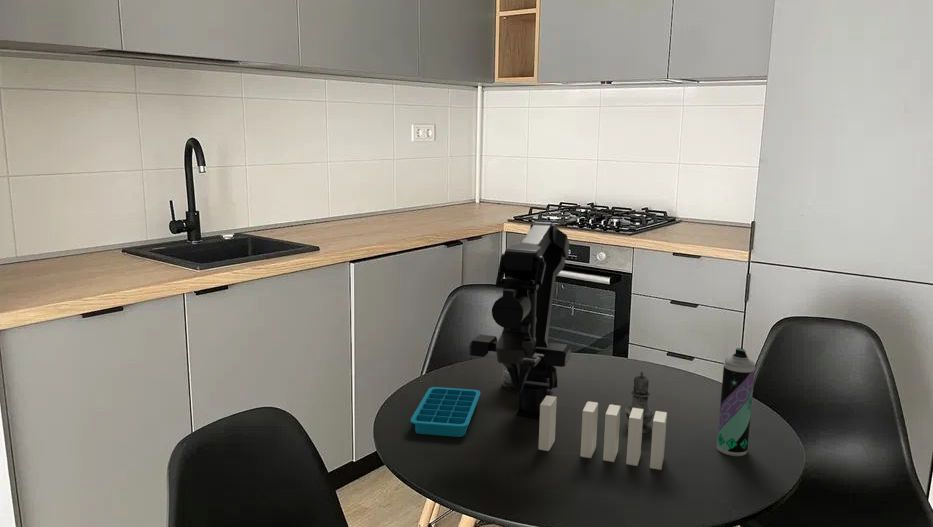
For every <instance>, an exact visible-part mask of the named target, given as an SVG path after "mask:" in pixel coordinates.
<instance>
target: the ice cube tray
mask: <svg viewBox="0 0 933 527" xmlns="http://www.w3.org/2000/svg"><path fill="white" fill-rule="evenodd" d="M480 396H481V391H480V390H479V389H469V388H467V389H466V388H455V387H454V388H453V387H441V386H432V387H429V388H428V389H427V391H426V392H425V395H424V396H423V398H422V399H421V401H420V403H419V404H418V406H417V408H416V410H415V411H414V413H413V414H412V416H411V418H410V420H409V421H410V423H411V424H414V430H415V431H414V432H415V433H416V434H421V435H431V436H444V437H455V438H457V437H459V438H460V437H464V436H465V435H466V433H467V429H468V428H469V425H470V423H471V420H472V418H471V417H473V414H474V413H475V412H474V411H475V410H476V406H477V404H478V401H479V398H480Z"/></svg>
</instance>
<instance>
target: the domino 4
mask: <svg viewBox="0 0 933 527" xmlns="http://www.w3.org/2000/svg"><path fill="white" fill-rule="evenodd" d="M643 411H644V409H639V408H632V411H631V414H630V416H629V420H628V423H629V427H628V429H627V431H628V432H627V443H626V444H627V445H626V446H627V447H626V460H625V461H626V462H625V463H626V465H630V466H636V467H637V466H638V465H639V461H640V459H641V456H642V454H641V453H642V438H643V433H642V426H643Z"/></svg>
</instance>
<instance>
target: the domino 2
mask: <svg viewBox="0 0 933 527" xmlns="http://www.w3.org/2000/svg"><path fill="white" fill-rule="evenodd" d="M598 414H599V402H595V401H590V400H589V401H587V402H586V404H585V406H584V408H583V409H582V417H581V418H582V419H581V439H580V440H581V441H580V457H581V458H587V459H592V457H593V455H594V453H595V450H596V448H597V434H598V433H597V432H598Z"/></svg>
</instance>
